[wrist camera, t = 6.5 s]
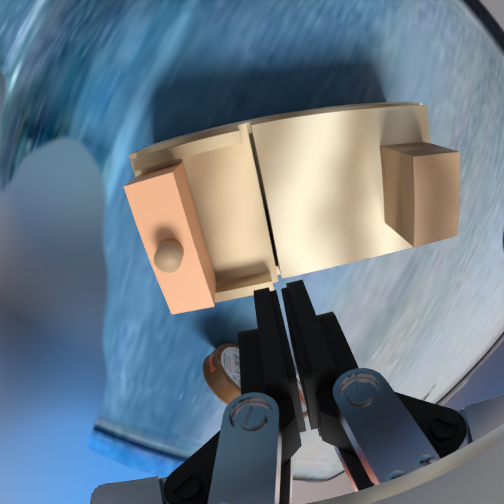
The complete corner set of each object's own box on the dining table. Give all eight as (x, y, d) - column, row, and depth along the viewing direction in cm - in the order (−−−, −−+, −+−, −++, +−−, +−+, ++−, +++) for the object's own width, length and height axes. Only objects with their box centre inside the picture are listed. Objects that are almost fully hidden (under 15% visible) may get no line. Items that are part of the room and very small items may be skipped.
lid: (419, 105, 19) (464, 109, 14) (424, 237, 24) (460, 266, 19) (250, 124, 19) (257, 128, 14) (279, 272, 24) (292, 314, 19)
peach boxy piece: (182, 161, 19) (168, 176, 15) (216, 279, 23) (214, 317, 19) (140, 174, 19) (116, 192, 15) (178, 286, 23) (169, 325, 19)
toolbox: (386, 101, 24) (439, 104, 16) (396, 216, 29) (441, 251, 22) (153, 143, 25) (122, 158, 17) (189, 261, 30) (177, 313, 22)
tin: (202, 343, 35) (198, 398, 27) (218, 328, 34) (217, 384, 27) (291, 387, 40) (301, 435, 32) (307, 375, 39) (320, 424, 31)
